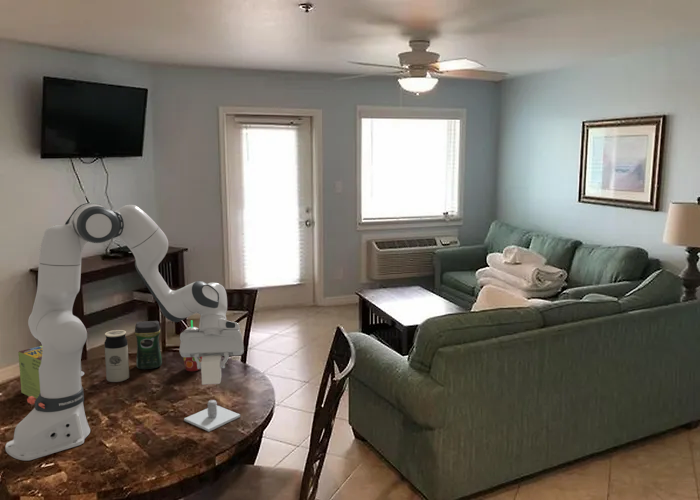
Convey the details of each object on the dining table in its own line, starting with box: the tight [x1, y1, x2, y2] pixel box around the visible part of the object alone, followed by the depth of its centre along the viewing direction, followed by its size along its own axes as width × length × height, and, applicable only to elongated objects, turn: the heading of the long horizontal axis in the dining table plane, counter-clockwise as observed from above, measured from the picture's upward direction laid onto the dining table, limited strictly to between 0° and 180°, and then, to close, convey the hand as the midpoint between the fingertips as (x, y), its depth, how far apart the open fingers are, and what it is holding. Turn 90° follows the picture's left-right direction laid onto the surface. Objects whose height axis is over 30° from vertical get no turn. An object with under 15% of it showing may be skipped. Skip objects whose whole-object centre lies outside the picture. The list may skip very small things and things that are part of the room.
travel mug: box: [104, 329, 130, 383], centre depth 218 cm, size 8×8×18 cm
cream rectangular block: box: [200, 355, 222, 385], centre depth 185 cm, size 6×6×8 cm
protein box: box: [18, 345, 43, 399], centre depth 204 cm, size 10×15×16 cm
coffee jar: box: [134, 320, 163, 370], centre depth 231 cm, size 10×8×19 cm
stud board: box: [183, 399, 241, 432], centre depth 187 cm, size 13×12×6 cm
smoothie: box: [182, 319, 202, 372], centre depth 228 cm, size 8×8×20 cm
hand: (211, 367), depth 184 cm, fingers closed on cream rectangular block, 6 cm apart
